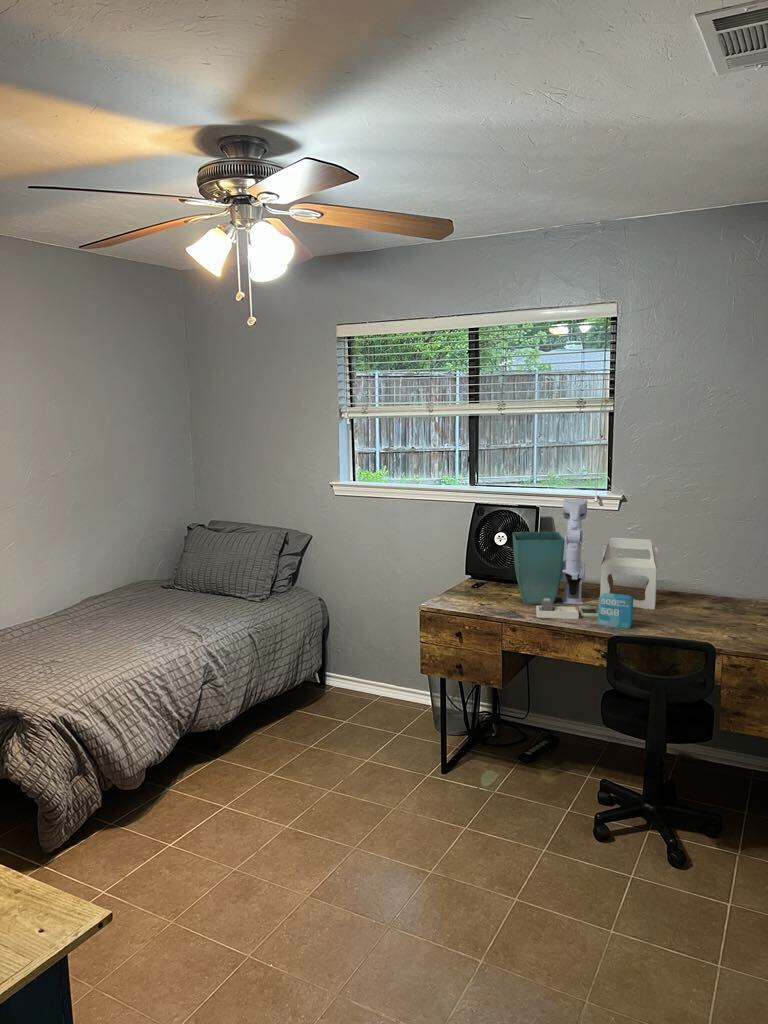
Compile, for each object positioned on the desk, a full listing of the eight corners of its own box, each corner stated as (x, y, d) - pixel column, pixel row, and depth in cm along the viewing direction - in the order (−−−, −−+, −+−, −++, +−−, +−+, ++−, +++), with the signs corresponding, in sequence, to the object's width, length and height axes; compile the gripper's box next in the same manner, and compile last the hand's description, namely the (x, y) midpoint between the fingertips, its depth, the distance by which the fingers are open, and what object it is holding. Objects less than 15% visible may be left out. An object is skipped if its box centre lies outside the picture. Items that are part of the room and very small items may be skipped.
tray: (578, 609, 310) (578, 605, 310) (606, 609, 308) (606, 606, 308) (581, 616, 299) (581, 613, 299) (609, 617, 298) (609, 614, 297)
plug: (567, 595, 301) (568, 580, 300) (577, 596, 301) (578, 580, 300) (568, 598, 297) (569, 582, 296) (578, 598, 297) (579, 583, 296)
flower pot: (511, 594, 334) (512, 531, 330) (557, 594, 333) (558, 531, 328) (515, 606, 315) (515, 540, 310) (563, 606, 313) (565, 540, 309)
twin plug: (541, 613, 303) (541, 597, 302) (551, 613, 302) (551, 598, 301) (541, 616, 299) (542, 600, 298) (552, 616, 299) (552, 600, 298)
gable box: (656, 601, 320) (659, 536, 316) (655, 609, 308) (658, 542, 304) (602, 597, 328) (604, 533, 324) (599, 605, 316) (601, 539, 312)
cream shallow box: (535, 612, 305) (536, 603, 305) (576, 614, 303) (576, 605, 302) (536, 618, 298) (537, 609, 297) (578, 620, 295) (578, 610, 295)
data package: (597, 625, 288) (598, 595, 286) (600, 622, 292) (601, 592, 290) (630, 629, 283) (631, 598, 281) (632, 626, 287) (633, 595, 285)
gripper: (561, 555, 304) (560, 588, 306) (564, 563, 290) (563, 597, 292) (579, 555, 303) (578, 588, 305) (583, 563, 289) (582, 598, 291)
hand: (572, 593), depth 299 cm, fingers closed on plug, 4 cm apart
